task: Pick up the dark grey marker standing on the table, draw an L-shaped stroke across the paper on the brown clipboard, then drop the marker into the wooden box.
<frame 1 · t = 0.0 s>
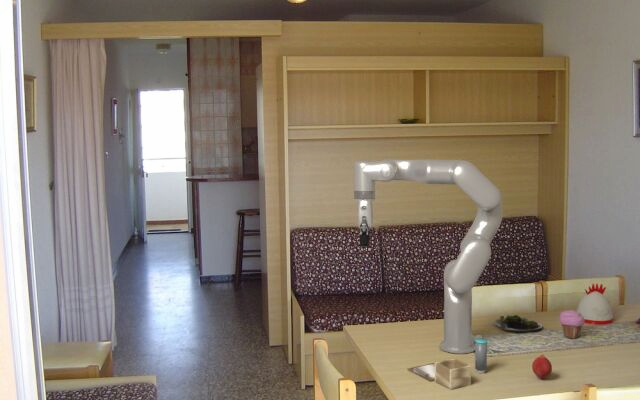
hand: (364, 243, 235), 37 cm above the table, tool pointing down, fingers open, 9 cm apart
marker: (480, 372, 212), on the table
onion: (541, 379, 206), on the table
wooden box: (452, 383, 203), on the table
white and red dome: (594, 320, 269), on the table
cupcake: (571, 337, 247), on the table
salad plate: (517, 328, 260), on the table
clipboard: (438, 371, 214), on the table
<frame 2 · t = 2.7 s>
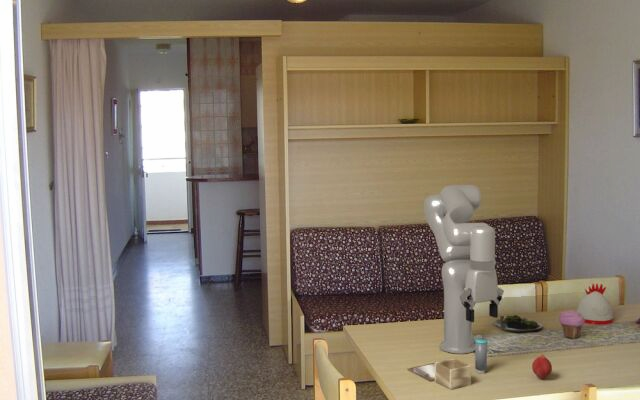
hand: (481, 319, 210), 17 cm above the table, tool pointing down, fingers open, 9 cm apart
nothing on the table moved.
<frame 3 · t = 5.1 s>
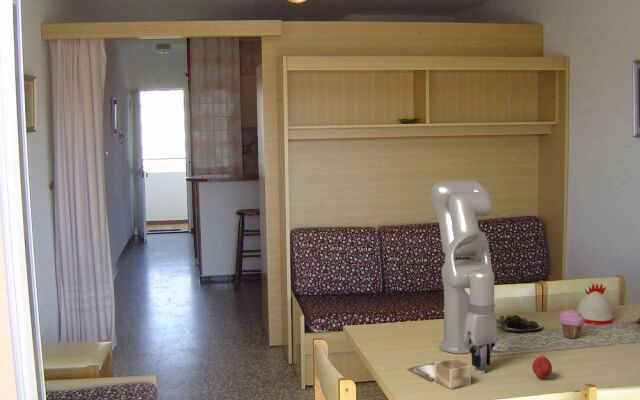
hand: (481, 364, 212), 2 cm above the table, tool pointing down, fingers closed on marker, 3 cm apart
marker: (480, 372, 212), on the table, touching gripper
everything else where it was.
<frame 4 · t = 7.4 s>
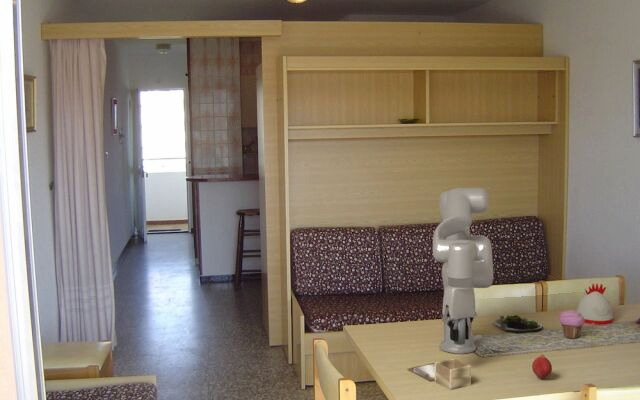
hand: (459, 339, 211), 11 cm above the table, tool pointing down, fingers closed on marker, 3 cm apart
marker: (459, 346, 211), point 9 cm above the table, touching gripper
everything else where it was.
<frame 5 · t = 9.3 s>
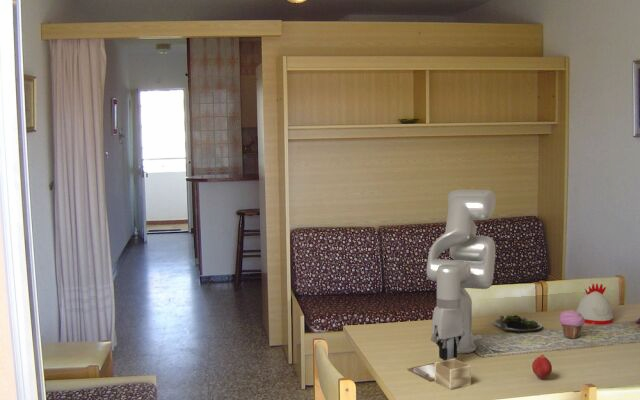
hand: (448, 357, 217), 3 cm above the table, tool pointing down, fingers closed on marker, 3 cm apart
marker: (448, 364, 218), point 1 cm above the table, touching gripper
everything else where it was.
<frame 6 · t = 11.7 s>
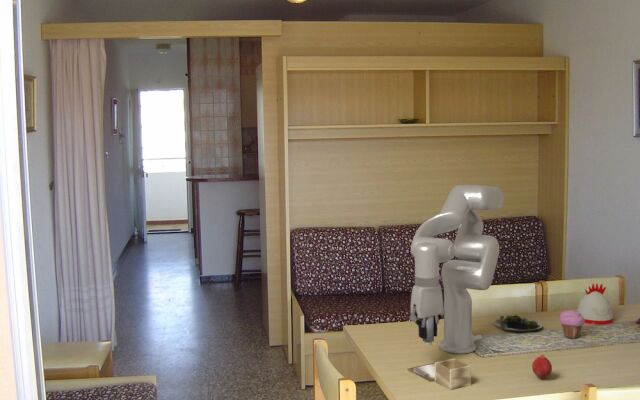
hand: (428, 336, 214), 11 cm above the table, tool pointing down, fingers closed on marker, 3 cm apart
marker: (428, 343, 214), point 8 cm above the table, touching gripper
everything else where it was.
when the fingers open (7 cm above the table, at t = 13.9 s): marker drops 4 cm, resting on wooden box.
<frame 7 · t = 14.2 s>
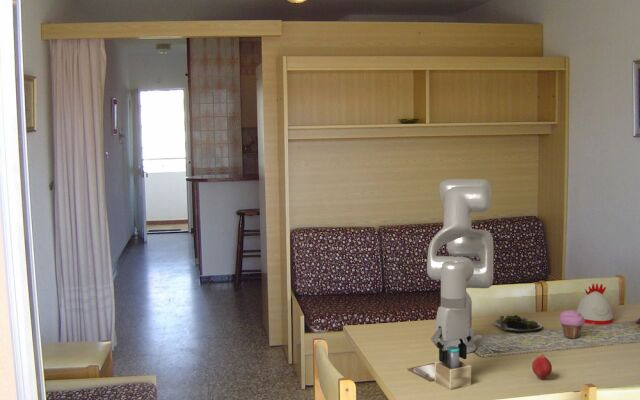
hand: (452, 359, 202), 7 cm above the table, tool pointing down, fingers open, 6 cm apart
marker: (453, 381, 203), point 1 cm above the table, touching wooden box
everything else where it was.
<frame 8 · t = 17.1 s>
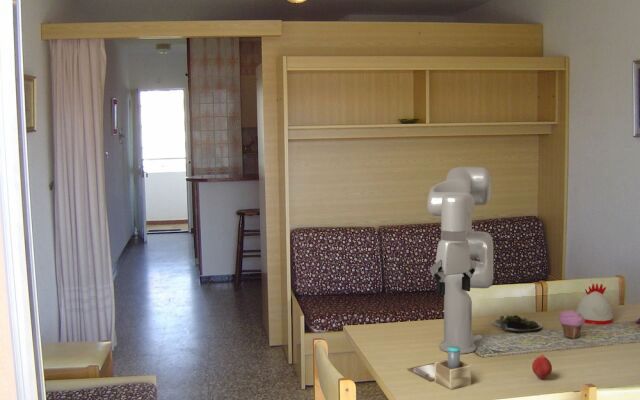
hand: (453, 292, 200), 28 cm above the table, tool pointing down, fingers open, 9 cm apart
nothing on the table moved.
at the end: marker inside the target area on the wooden box (0.3 cm from its centre), point 0.6 cm above the wooden box's base; the gripper is holding nothing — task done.
